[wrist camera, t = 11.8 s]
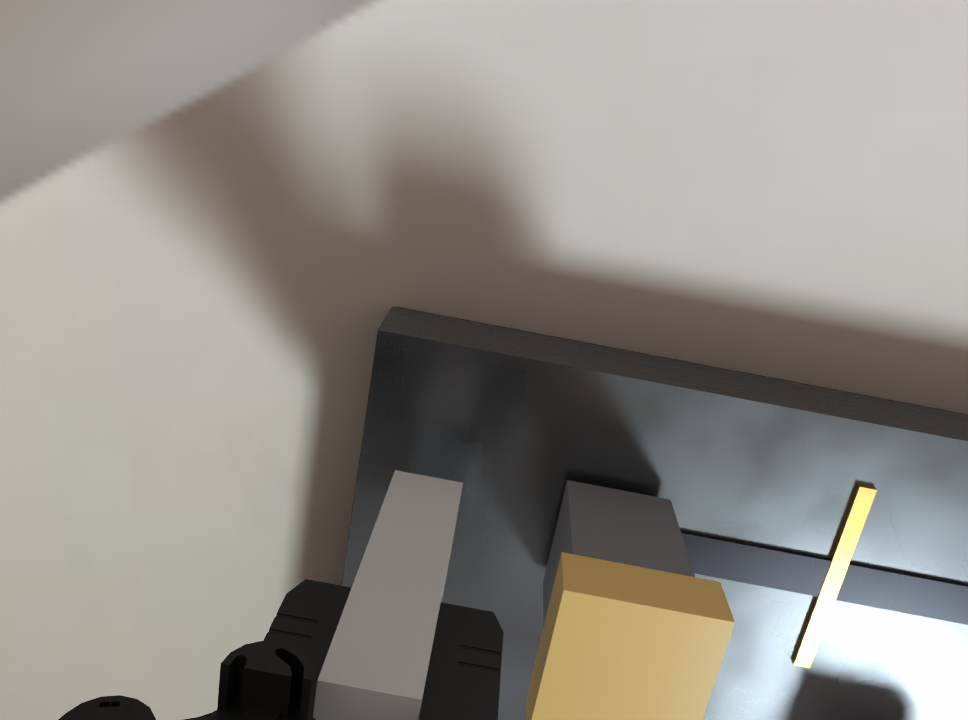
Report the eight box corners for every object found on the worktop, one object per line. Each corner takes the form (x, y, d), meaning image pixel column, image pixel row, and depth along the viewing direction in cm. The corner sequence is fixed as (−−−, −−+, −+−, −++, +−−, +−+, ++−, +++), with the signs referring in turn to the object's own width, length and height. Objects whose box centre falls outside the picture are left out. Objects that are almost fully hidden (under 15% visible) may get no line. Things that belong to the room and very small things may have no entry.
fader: (528, 591, 20) (525, 743, 15) (557, 465, 19) (563, 590, 14) (650, 614, 20) (684, 773, 15) (686, 490, 19) (735, 622, 14)
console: (320, 799, 25) (293, 890, 23) (393, 306, 20) (369, 343, 17) (1022, 931, 25) (1083, 1039, 23) (1277, 473, 20) (1399, 538, 17)
